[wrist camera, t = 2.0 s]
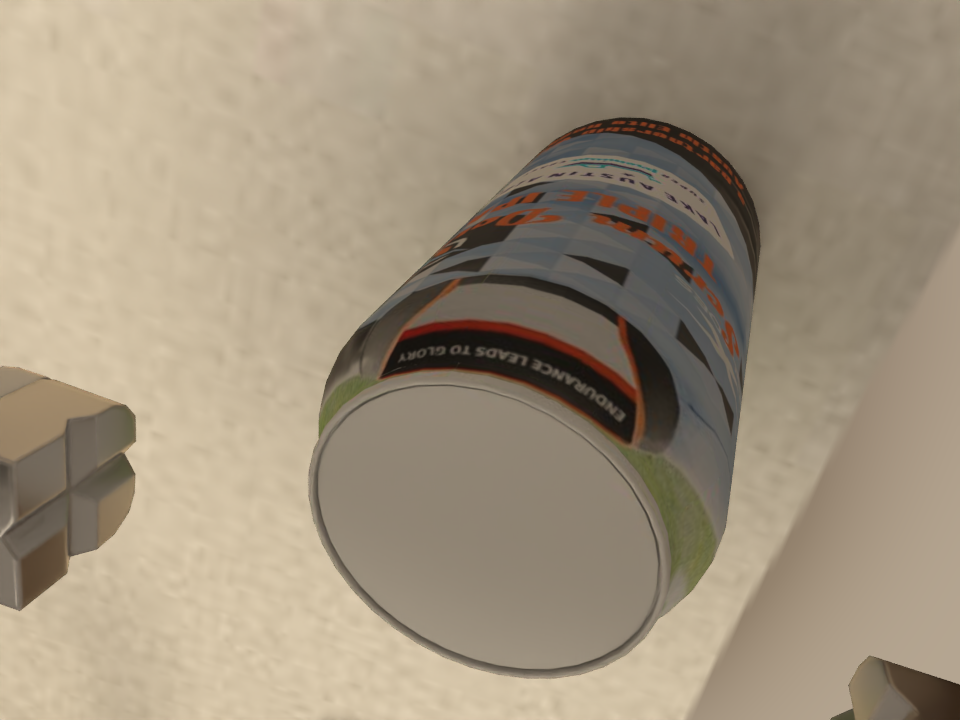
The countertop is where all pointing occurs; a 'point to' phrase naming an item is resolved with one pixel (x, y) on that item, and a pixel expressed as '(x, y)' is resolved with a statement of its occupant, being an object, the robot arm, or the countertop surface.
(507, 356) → the beverage can
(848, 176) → the countertop surface
